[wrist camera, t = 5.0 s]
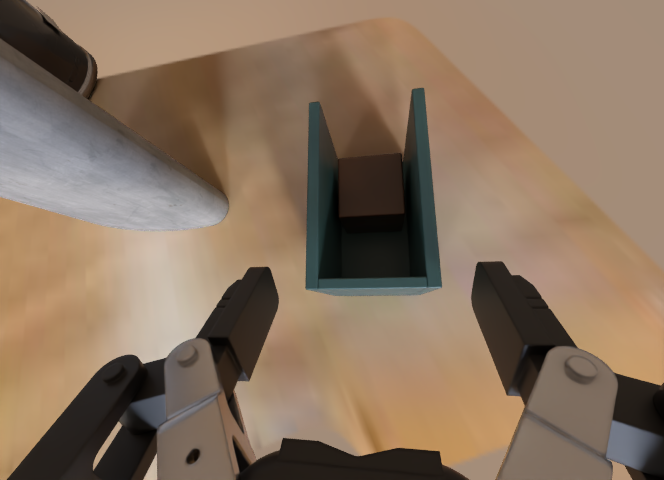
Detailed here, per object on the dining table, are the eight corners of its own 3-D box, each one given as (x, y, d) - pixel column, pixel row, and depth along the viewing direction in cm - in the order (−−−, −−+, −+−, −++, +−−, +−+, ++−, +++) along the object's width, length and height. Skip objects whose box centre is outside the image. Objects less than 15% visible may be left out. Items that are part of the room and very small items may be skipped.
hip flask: (231, 190, 24) (-348, -243, 5) (223, 236, 23) (-508, -76, 4) (82, 188, 27) (-626, -85, 8) (70, 229, 27) (-751, 29, 7)
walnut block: (401, 231, 20) (405, 213, 16) (346, 233, 21) (338, 217, 17) (398, 180, 21) (401, 152, 17) (345, 184, 22) (337, 158, 18)
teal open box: (420, 295, 20) (442, 288, 12) (334, 295, 21) (305, 289, 13) (410, 163, 22) (424, 86, 14) (334, 170, 23) (308, 102, 15)
